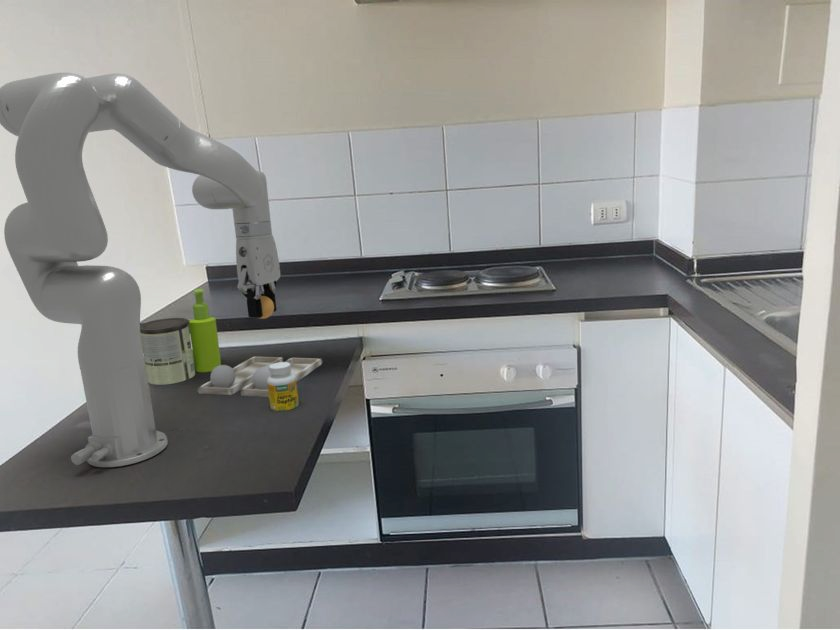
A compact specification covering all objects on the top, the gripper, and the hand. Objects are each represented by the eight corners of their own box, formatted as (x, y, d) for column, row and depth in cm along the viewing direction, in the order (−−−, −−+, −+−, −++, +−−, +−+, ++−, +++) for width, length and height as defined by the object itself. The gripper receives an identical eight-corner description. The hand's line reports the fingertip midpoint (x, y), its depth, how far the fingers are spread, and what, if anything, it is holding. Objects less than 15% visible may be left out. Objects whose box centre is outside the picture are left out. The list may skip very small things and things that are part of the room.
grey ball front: (271, 394, 124) (269, 371, 123) (249, 393, 125) (246, 370, 124) (283, 386, 129) (281, 363, 128) (262, 385, 130) (259, 362, 129)
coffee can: (145, 382, 142) (135, 322, 139) (191, 373, 147) (183, 315, 144) (151, 394, 133) (141, 331, 130) (200, 384, 138) (192, 323, 135)
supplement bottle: (293, 405, 122) (288, 358, 120) (304, 413, 117) (298, 365, 115) (267, 412, 119) (261, 364, 117) (276, 420, 114) (271, 371, 112)
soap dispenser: (220, 367, 150) (210, 286, 146) (222, 375, 143) (212, 290, 139) (195, 371, 148) (184, 289, 144) (196, 379, 141) (184, 293, 137)
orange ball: (267, 321, 132) (264, 298, 131) (247, 320, 134) (244, 298, 133) (279, 316, 137) (277, 293, 136) (259, 315, 138) (257, 293, 137)
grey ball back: (228, 392, 127) (225, 369, 126) (207, 391, 128) (203, 368, 127) (241, 384, 131) (238, 362, 130) (220, 383, 133) (217, 361, 132)
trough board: (276, 406, 122) (275, 393, 121) (193, 401, 127) (192, 389, 127) (326, 368, 144) (325, 357, 144) (254, 365, 150) (253, 355, 149)
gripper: (246, 234, 122) (256, 323, 126) (289, 226, 138) (297, 306, 142) (213, 235, 124) (225, 323, 128) (259, 227, 140) (268, 305, 144)
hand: (262, 313), depth 135 cm, fingers closed on orange ball, 4 cm apart
